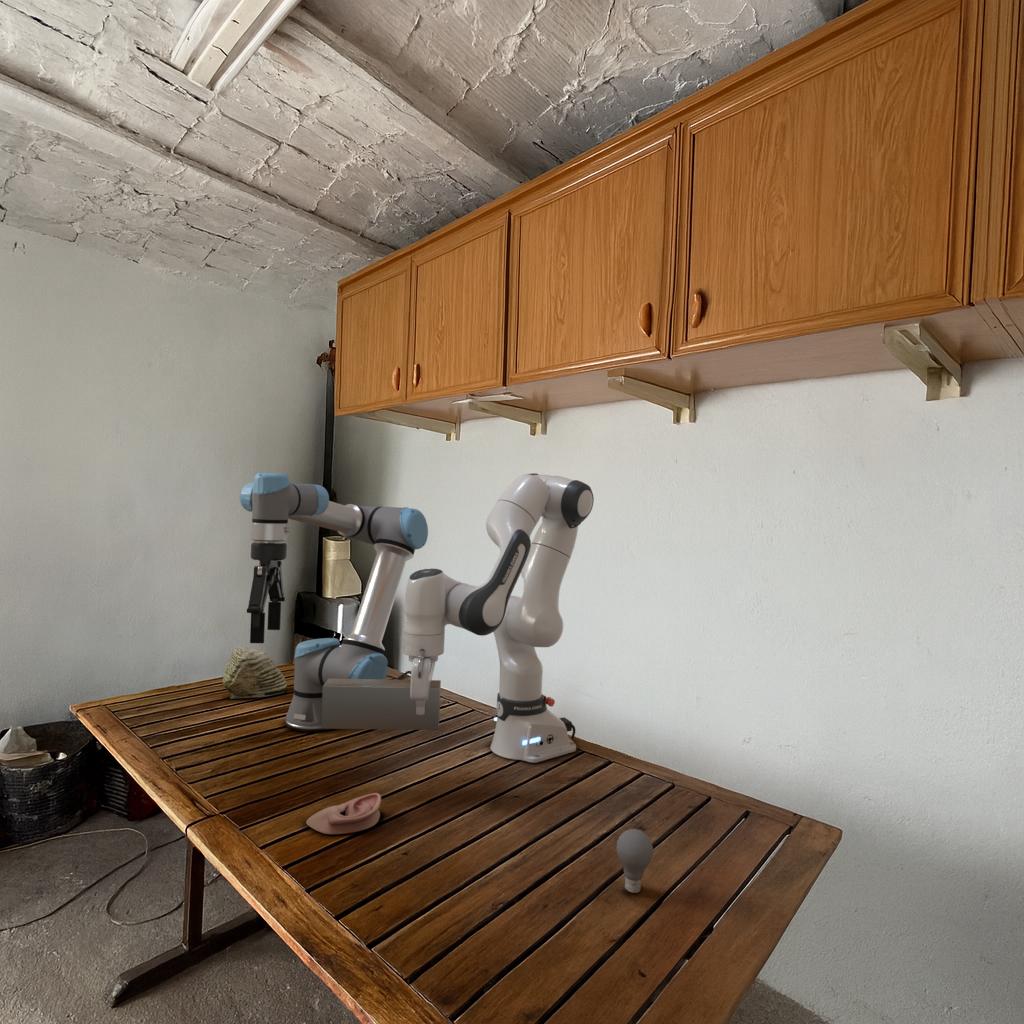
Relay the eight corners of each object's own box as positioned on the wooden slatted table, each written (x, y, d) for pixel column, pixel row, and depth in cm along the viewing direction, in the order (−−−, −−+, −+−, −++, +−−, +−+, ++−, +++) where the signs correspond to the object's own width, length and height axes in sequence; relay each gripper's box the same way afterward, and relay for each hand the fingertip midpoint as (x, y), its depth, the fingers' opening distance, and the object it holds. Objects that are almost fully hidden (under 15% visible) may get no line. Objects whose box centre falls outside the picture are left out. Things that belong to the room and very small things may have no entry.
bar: (321, 728, 133) (322, 686, 133) (327, 719, 139) (328, 678, 138) (438, 730, 135) (439, 688, 134) (439, 720, 140) (440, 680, 140)
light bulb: (610, 879, 108) (613, 822, 108) (644, 879, 109) (647, 822, 109) (619, 902, 102) (622, 840, 102) (655, 901, 103) (658, 840, 103)
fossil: (218, 695, 195) (220, 647, 195) (278, 685, 208) (279, 640, 207) (228, 703, 189) (230, 653, 188) (289, 692, 201) (290, 645, 201)
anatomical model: (298, 809, 120) (327, 783, 131) (297, 830, 120) (327, 802, 131) (363, 819, 117) (388, 791, 128) (362, 840, 117) (387, 811, 128)
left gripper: (271, 546, 130) (267, 649, 130) (298, 538, 155) (295, 625, 155) (233, 545, 129) (229, 648, 130) (267, 537, 154) (264, 624, 154)
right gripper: (436, 657, 127) (433, 725, 127) (440, 634, 147) (438, 693, 147) (404, 656, 126) (401, 725, 127) (413, 634, 147) (411, 693, 147)
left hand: (265, 636), depth 142 cm, fingers open, 13 cm apart
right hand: (421, 708), depth 137 cm, fingers closed on bar, 6 cm apart
